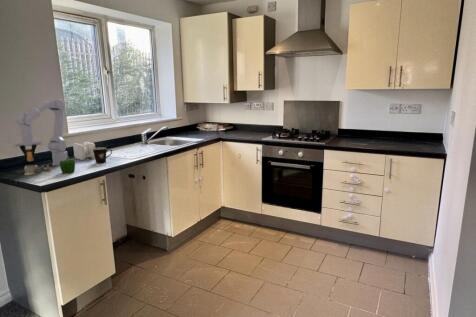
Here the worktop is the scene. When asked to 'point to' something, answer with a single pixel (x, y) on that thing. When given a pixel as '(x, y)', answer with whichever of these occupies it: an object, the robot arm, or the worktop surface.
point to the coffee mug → (100, 154)
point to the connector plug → (29, 155)
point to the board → (39, 173)
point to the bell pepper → (67, 166)
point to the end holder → (30, 168)
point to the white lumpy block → (83, 150)
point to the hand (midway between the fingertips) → (29, 157)
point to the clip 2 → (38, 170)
